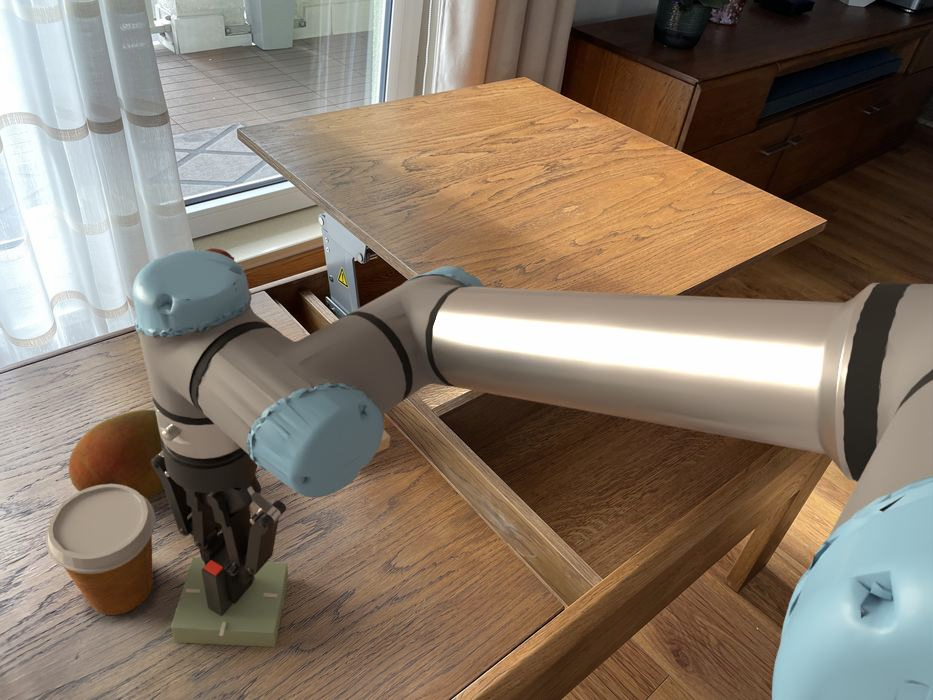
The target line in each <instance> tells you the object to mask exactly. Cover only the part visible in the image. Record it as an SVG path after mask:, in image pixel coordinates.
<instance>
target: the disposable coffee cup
mask: <svg viewBox="0 0 933 700" xmlns="http://www.w3.org/2000/svg"><path fill="white" fill-rule="evenodd" d="M155 524H156V513H155V510H154V507H153V505H152V504H151V502H150V501H149V499H148V500H147V499H146V498H145V497H144V496H142V495H141V494H139V493H138V492H137V491H136V490H134V489H132V488H129V487H127V486H123V485H118V484H104V485H97V486H93V487H90V488H87V489H84V490H82V491H80V492H79V491H78V492H76V493H74V494H73V495H71V496H69V497H68V498H67V499H65V500H64V501H63V502H62V503H61V504H60V505H59V506H58V507H57V508H56V510H55V511H54V513H53V515H52V516H51V518H50V520H49V524H48V527H47V530H46V532H45V533H46V534H45V547H46V550H47V553H48V555H49V556H50V557H51V559H52V560H53V561H54V562H55V564H57V565H59V566H60V567H62V568H64V570H65V571H66V572H67V574H68V575H69V577H70V578H71V580H72V581H73V582H74V584H75V586H76V587H77V588H78V589H79V591H80V593H81V594H83V597H84V598H85V599H86V601H87V602H88V603H89V605H90V606H91V608H93V609H94V611H96V612H98V613H100V614H103V615H108V616H117V615H122V614H125V613H128V612H130V611H132V610H134V609H136V608H137V607H138V606H140V605H141V604H143V602H144V601H145V600H146V599H147V598H148V596H149V595H150V593H151V591H152V588H153V583H154V580H153V534H154V529H155Z"/></svg>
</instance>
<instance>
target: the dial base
mask: <svg viewBox="0 0 933 700" xmlns="http://www.w3.org/2000/svg"><path fill="white" fill-rule="evenodd" d="M288 564H289V563H288V562H280V561H279V562H277V561H267V562H266V563H265V564H264V566H263V567H262V568H261V569H260V570H259V571H258V572H257V573H256V575H254V578H255V579H254V580H253V584H252V585H251V586H250V587H249V588H248V590H247V591H246V592H245V593H244V594H243V595H242V597H241V598H240V599H239V600H238V601H237V602H236V604H234V603H233V604H232V605H231V607H230V608H229V609H228V610H227V611H226V612H225V613H224V614H223V616H220V615H219V614H217V613H215V612H214V611H212V610H211V609H209V608H208V604H207V599H206V593H205V587H204V582H203V576H202V571H201V570H202V569H203V568H204V567H205V562H204V561H203V560H202V558H201V557H195V556H193V557H192V558H191V561H190V565H189V567H188V570H187V574H186V578H185V581H184V583H183V587H182V590H181V594H180V597H179V599H178V604H177V606H176V609H175V612H174V617H173V619H172V621H171V626H170V630H171V634H172V638H173V642H174V643H177V644H179V643H180V644H198V645H199V644H201V645H202V644H203V645H222V646H223V645H224V646H242V647H243V646H244V647H265V648H275V647H276V643H277V638H278V634H279V628H280V623H281V618H282V612H283V607H284V601H285V597H286V592H287V586H288V581H289V567H288Z"/></svg>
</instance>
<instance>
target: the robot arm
mask: <svg viewBox="0 0 933 700" xmlns="http://www.w3.org/2000/svg"><path fill="white" fill-rule="evenodd" d="M132 297H133V304H134V311H135V320H134V328H135V331H136V332H137V333H138V338H139V342H140V347H141V352H142V355H143V356H142V357H143V361H144V365H145V370H146V373H147V379H148V383H149V388H150V392H151V398H152V402H153V406H154V411H156V416H157V422H158V427H159V432H160V436H161V445H162V450H163V451H162V452H160V453H159V454H158V455H157V456H156V457H154V458H153V459H152V460H151V461H150V463H151V465H152V467H153V468H154V470H155V472H156V473H157V475H158V476H159V478H160V479H161V482H162V485H163V488H164V489H163V490H164V494H165V496H166V499H167V502H168V505H169V507H170V510H171V513H172V515H173V519H174V521H175V524H176V527H177V530H178V532H179V533H180V534H181V535H182V536H185V537H188V536H189V535H191V536H192V538H193V543H194V545H196V547H197V548H198V551H199V556H200V558H202V560H203V561H204V562H205V565H206V564H207V563H208V562H209V561H210V560H211V559H212V558H213V557H214V556H215V555H216V554H217V553H218V552H219V551H220V550H221V549H222V548H223V547H224V546H225V545H226V547H227V551H228V555H229V559H228V560H227V561H226V562H225V564H224V569H225V576H226V583H227V590H228V597H229V601H231V602H232V603H234V604H236V602H237V601H238V600H239V599H240V598H241V597H242V595H243V594H244V593H245V592H246V591H247V590H248V588H249V587H250V586H251V585H252V584H253V580H252V577H253V576H254V575H256V573H257V572H258V571H259V570H260V569H261V568H262V567H263V566H264V564H265V563H266V562H269V560H270V559H271V558H272V556H274V555H273V554H274V550H275V549H274V548H275V543H276V536H277V530H278V525H279V519H280V518H281V516H282V515H283V514H284V513H285V512H286V511H287V510H288V509H287V506H286V504H285V503H284V502H283V501H281V500H278V499H277V500H275V501H274V502H272V501H270V500H268V499H267V498H266V497H264V496H263V494H261V492H262V486H261V483H260V482H259V480H258V477H257V474H256V473H257V470H258V467H259V468H260V469H262V470H264V471H267V472H268V473H270V474H271V475H273V476H274V477H275V478H277V479H278V480H279V481H280V482H282V483H283V484H284V485H286V486H287V487H288V488H290V489H291V490H292V491H294V492H295V494H298V495H301V496H303V497H305V498H311V499H313V498H315V499H319V498H324V497H327V496H330V495H333V494H336V493H338V492H339V491H341V490H342V489H344V488H346V487H347V486H348V485H350V484H351V483H352V482H353V481H355V479H357V476H358V475H359V473H360V471H361V470H362V469H363V468H364V467H366V466H368V465H369V464H370V462H371V461H372V459H373V458H374V456H375V455H376V454H377V453H376V451H377V449H378V447H379V445H380V442H381V439H382V435H383V430H385V423H384V421H385V420H384V417H383V415H385V414H386V413H388V412H389V411H390V410H392V409H394V408H395V407H396V406H397V405H399V404H400V403H402V402H403V401H405V400H407V399H408V398H409V397H411V396H412V395H414V394H415V393H417V392H418V391H420V390H421V389H423V388H424V387H426V386H428V385H440V386H445V387H452V388H458V389H464V390H469V391H475V392H479V393H486V394H492V395H495V396H496V395H497V396H501V397H508V398H513V399H514V398H515V399H519V400H524V401H531V402H535V403H540V404H546V405H553V406H558V407H563V408H569V409H574V410H579V411H585V412H592V413H596V414H602V415H606V416H607V415H608V416H613V417H618V418H623V419H624V418H625V419H630V420H635V421H641V422H646V423H652V424H658V425H662V426H669V427H674V428H680V429H685V430H691V431H695V432H701V433H706V434H707V433H708V434H712V435H719V436H723V437H728V438H735V439H741V440H745V441H752V442H756V443H762V444H768V445H773V446H779V447H785V448H791V449H795V450H801V451H807V452H813V453H817V454H824V455H825V456H828V457H829V458H830V459H831V460H832V462H833V463H834V465H835V466H836V467H837V468H838V469H839V470H840V472H841V473H842V474H843V475H844V477H845V478H847V480H849V481H852V482H857V483H856V484H855V486H854V489H853V490H852V493H851V494H850V496H849V498H848V500H847V502H846V503H845V505H844V507H843V508H842V511H841V512H840V514H839V517H838V518H837V520H836V521H835V524H834V526H833V528H832V529H831V531H830V533H829V535H828V537H827V538H826V539H825V540H824V542H823V543H822V544H821V546H820V547H819V548H818V549H817V551H816V552H815V554H814V555H813V559H812V561H811V563H810V566H809V567H808V568H807V569H806V571H805V572H804V573H803V574H802V575H801V577H800V579H799V580H798V582H797V583H796V587H794V590H793V593H792V595H791V598H790V601H789V603H788V607H787V610H786V614H785V617H784V621H783V625H782V629H781V636H780V644H779V646H778V650H777V653H776V658H775V661H774V667H773V673H772V686H771V687H772V688H771V700H933V283H899V282H898V283H897V282H871V283H870V284H868V285H867V286H866V287H865V288H864V289H862V290H861V291H860V292H858V293H857V294H856V295H854V297H852V298H851V299H849V300H847V301H845V302H840V301H839V302H836V301H813V300H792V299H791V300H790V299H770V298H769V299H768V298H767V299H765V298H745V297H725V296H724V297H721V296H700V295H699V296H698V295H678V294H677V295H676V294H653V293H652V294H651V293H630V292H609V291H608V292H607V291H585V290H561V289H537V288H518V287H517V288H513V287H492V286H490V287H489V286H485V284H484V283H483V282H482V281H481V280H480V279H479V278H478V277H477V276H476V275H474V274H470V273H468V272H467V271H466V270H465V269H464V268H462V267H459V266H454V265H447V266H446V265H445V266H440V267H437V268H435V269H432V270H430V271H428V272H427V271H426V272H425V273H420V274H417V275H414V276H412V277H411V278H410V279H407V280H406V281H404V282H403V283H402V284H400V285H399V286H396V287H395V288H393V289H392V290H389V291H388V292H386V293H384V294H383V295H381V296H378V297H377V298H375V299H373V300H372V301H370V302H368V303H366V304H364V305H363V306H360V307H359V308H357V309H355V310H354V311H352V312H350V313H348V314H346V315H344V316H342V317H341V318H339V319H337V320H335V321H333V322H331V323H330V324H327V325H326V326H324V327H322V328H320V329H318V330H316V331H314V332H312V333H311V334H308V335H307V336H305V337H303V338H301V339H299V340H297V341H294V340H293V339H290V338H289V337H287V336H285V335H284V334H283V333H282V332H280V331H279V330H278V329H277V328H275V327H273V326H272V325H271V324H270V323H268V322H267V321H266V320H264V319H262V318H261V317H260V316H259V315H257V314H256V313H255V312H254V310H253V309H252V306H251V303H252V302H251V301H252V300H253V299H252V292H251V290H250V286H249V283H248V279H247V275H246V272H245V271H244V269H243V268H242V266H241V265H240V264H239V263H238V262H236V260H235V259H234V260H233V259H231V258H229V257H227V256H225V255H222V254H220V253H216V252H211V251H205V250H202V249H188V250H187V249H186V250H179V251H174V252H170V253H169V254H167V255H165V256H161V257H157V258H154V259H153V260H151V261H150V262H148V263H147V264H145V265H144V267H142V268H141V269H140V270H139V272H138V273H137V275H136V276H135V279H134V281H133V284H132ZM375 453H376V454H375ZM250 508H251V510H252V512H251V510H250ZM251 514H252V515H251ZM219 533H220V534H219Z"/></svg>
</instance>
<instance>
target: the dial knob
mask: <svg viewBox="0 0 933 700" xmlns="http://www.w3.org/2000/svg"><path fill="white" fill-rule="evenodd" d="M228 559H229V555H228V551H227V547H226V545H225V546H224V547H223V548H222V549H221V550H220V551H219V552H218V553H217V554H216V555H215V556H214V557H213V558H212V559H211V560H210V561H209V562H208V563H207V564H206V565H205V567H204V568H203V569H202V570H201V571H202V576H203V582H204V587H205V593H206V599H207V604H208V608H209V609H211V610H212V611H214V612H215V613H217V614H219V615H220V616H223V614H224V613H225V612H226V611H227V610H228V609H229V608H230V607H231V605H232V604H233V603H232V602H231V601H229V597H228V590H227V583H226V576H225V569H224V564H225V562H226V561H227V560H228ZM254 579H255V578H254V576H253V577H252V580H254Z"/></svg>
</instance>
